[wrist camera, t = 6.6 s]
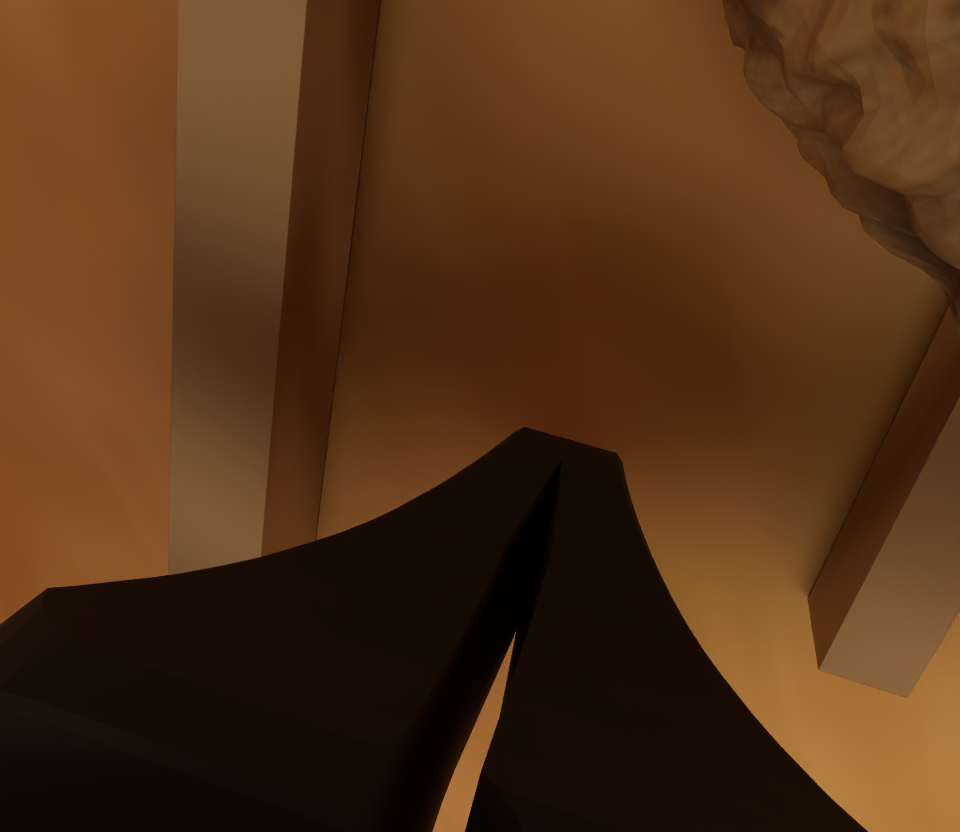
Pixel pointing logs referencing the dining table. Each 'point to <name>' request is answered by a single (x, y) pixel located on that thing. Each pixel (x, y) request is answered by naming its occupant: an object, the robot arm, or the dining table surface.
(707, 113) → the dining table surface
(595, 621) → the robot arm
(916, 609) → the flange channel
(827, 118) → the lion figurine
